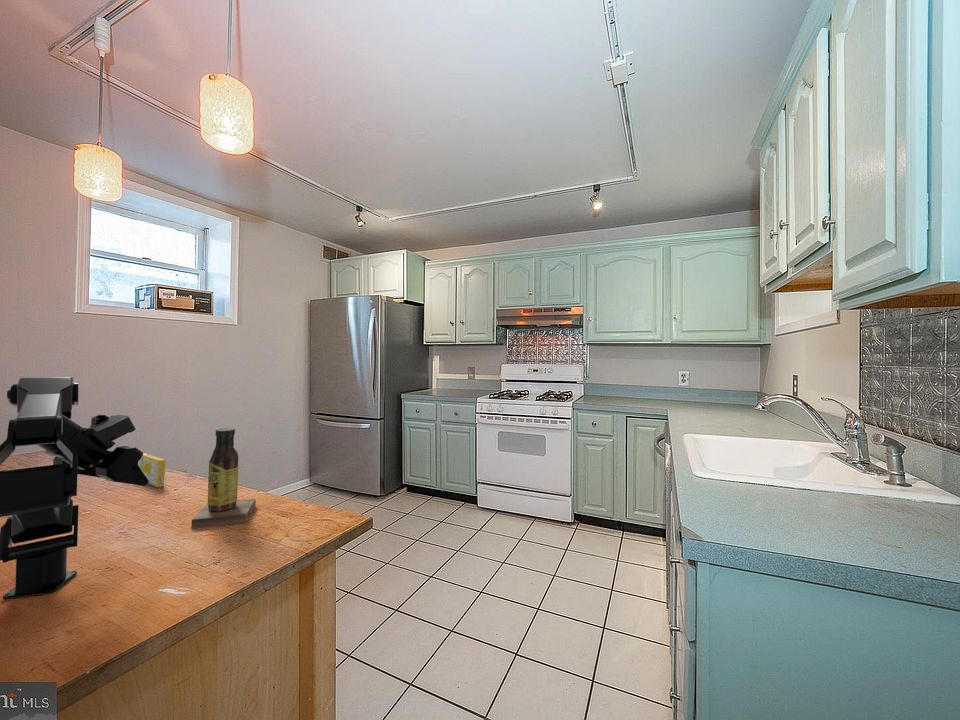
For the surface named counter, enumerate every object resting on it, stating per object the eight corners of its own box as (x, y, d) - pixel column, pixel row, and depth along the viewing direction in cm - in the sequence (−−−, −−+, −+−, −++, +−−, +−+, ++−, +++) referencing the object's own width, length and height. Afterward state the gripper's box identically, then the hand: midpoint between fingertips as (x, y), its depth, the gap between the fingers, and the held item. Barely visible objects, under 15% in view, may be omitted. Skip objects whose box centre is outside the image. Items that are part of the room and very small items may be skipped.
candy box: (165, 486, 119) (166, 459, 119) (156, 488, 117) (157, 460, 117) (144, 477, 128) (145, 452, 128) (136, 479, 126) (137, 453, 126)
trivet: (245, 522, 94) (245, 514, 94) (191, 528, 90) (191, 519, 90) (255, 506, 104) (255, 498, 104) (207, 510, 101) (207, 503, 101)
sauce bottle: (204, 507, 97) (206, 428, 97) (233, 501, 102) (234, 425, 102) (211, 515, 93) (213, 432, 93) (240, 508, 97) (242, 429, 97)
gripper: (132, 405, 73) (192, 452, 83) (75, 400, 80) (137, 444, 90) (75, 457, 66) (148, 501, 76) (18, 446, 72) (93, 488, 83)
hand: (132, 480), depth 81 cm, fingers open, 9 cm apart
